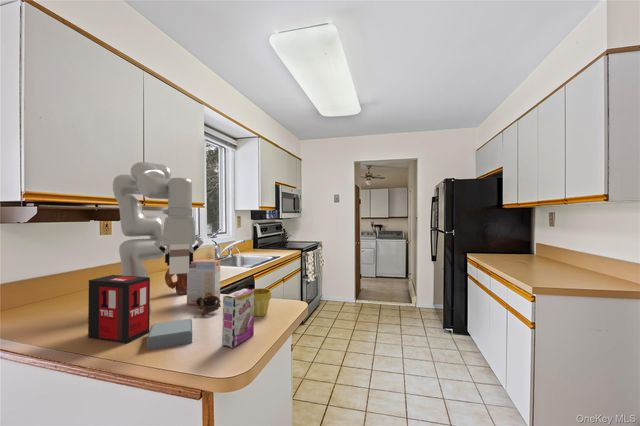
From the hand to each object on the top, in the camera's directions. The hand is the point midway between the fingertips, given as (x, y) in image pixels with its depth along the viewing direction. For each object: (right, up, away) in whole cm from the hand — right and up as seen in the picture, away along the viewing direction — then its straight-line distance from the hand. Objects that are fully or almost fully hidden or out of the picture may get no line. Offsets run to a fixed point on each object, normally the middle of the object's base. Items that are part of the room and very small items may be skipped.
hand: (179, 264), depth 100 cm
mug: (-25, -26, +51) cm, 63 cm away
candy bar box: (+22, -26, -3) cm, 34 cm away
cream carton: (0, -3, 0) cm, 3 cm away
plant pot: (+23, -26, +23) cm, 42 cm away
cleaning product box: (-21, -25, 0) cm, 33 cm away
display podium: (-2, -25, -2) cm, 25 cm away
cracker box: (-6, -26, +36) cm, 45 cm away
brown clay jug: (0, -26, +25) cm, 36 cm away
